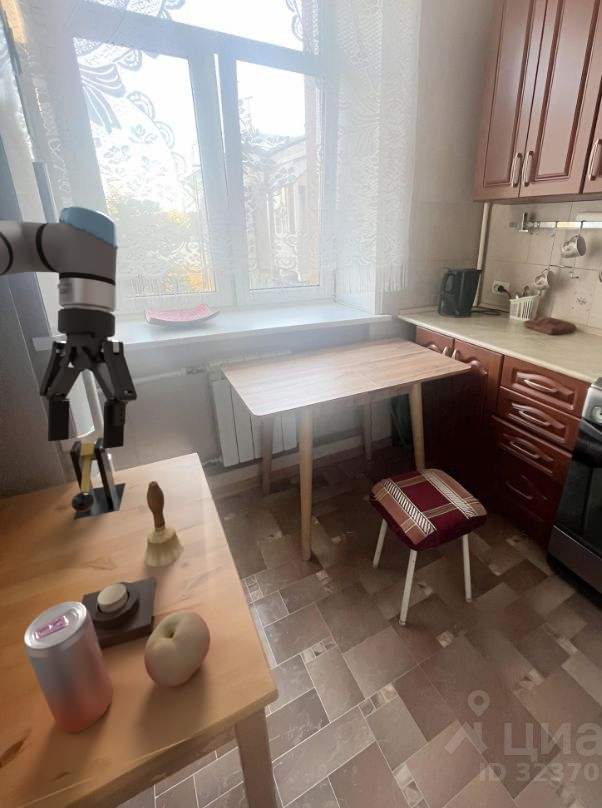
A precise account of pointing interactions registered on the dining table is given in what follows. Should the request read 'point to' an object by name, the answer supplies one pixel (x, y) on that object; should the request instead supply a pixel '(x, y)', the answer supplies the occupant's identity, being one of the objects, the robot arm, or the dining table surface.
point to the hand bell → (160, 532)
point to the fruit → (176, 648)
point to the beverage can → (69, 665)
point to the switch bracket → (110, 493)
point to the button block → (124, 614)
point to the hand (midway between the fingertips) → (84, 443)
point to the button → (112, 598)
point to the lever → (85, 480)
